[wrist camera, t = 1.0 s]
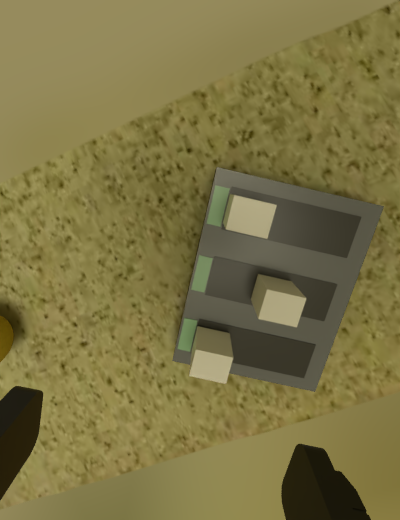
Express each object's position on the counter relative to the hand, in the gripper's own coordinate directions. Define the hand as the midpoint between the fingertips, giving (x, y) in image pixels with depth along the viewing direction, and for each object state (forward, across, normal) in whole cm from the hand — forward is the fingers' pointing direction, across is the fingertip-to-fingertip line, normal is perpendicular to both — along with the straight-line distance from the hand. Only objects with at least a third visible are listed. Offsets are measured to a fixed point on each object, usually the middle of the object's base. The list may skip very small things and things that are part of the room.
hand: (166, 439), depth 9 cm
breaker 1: (+17, -3, +6) cm, 18 cm away
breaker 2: (+17, -3, -6) cm, 19 cm away
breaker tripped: (+17, -7, 0) cm, 19 cm away
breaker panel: (+20, -7, 0) cm, 22 cm away
